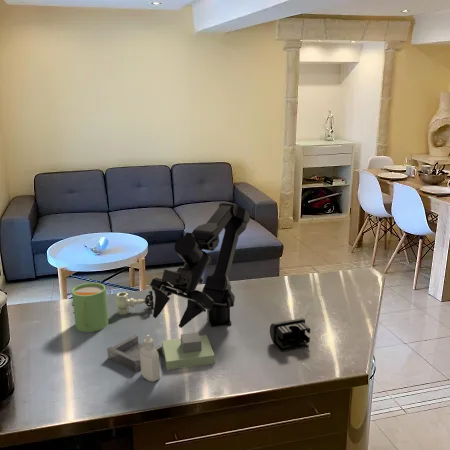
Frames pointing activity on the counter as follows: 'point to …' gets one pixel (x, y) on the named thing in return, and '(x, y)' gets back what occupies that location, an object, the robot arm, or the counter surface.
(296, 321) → the end cap
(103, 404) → the counter surface
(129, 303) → the valve
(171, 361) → the deck plate
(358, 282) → the counter surface
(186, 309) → the robot arm
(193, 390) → the counter surface
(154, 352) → the eye dropper bottle
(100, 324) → the mug
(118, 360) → the grey square tray
